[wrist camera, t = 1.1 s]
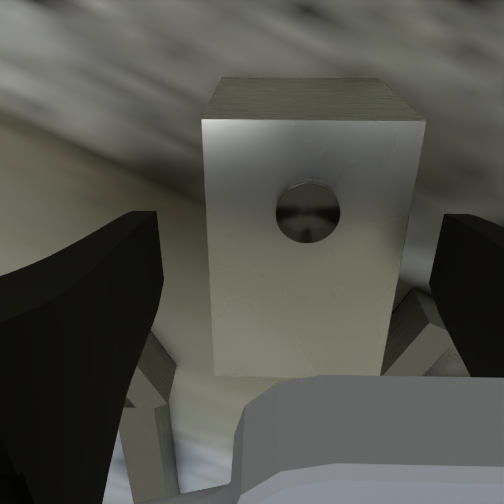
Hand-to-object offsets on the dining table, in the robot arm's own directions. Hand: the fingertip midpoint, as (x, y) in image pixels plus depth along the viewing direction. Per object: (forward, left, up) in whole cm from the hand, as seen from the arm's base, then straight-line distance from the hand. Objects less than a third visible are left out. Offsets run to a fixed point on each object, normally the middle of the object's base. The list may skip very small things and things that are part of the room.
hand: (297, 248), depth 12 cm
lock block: (0, 0, -4) cm, 4 cm away
